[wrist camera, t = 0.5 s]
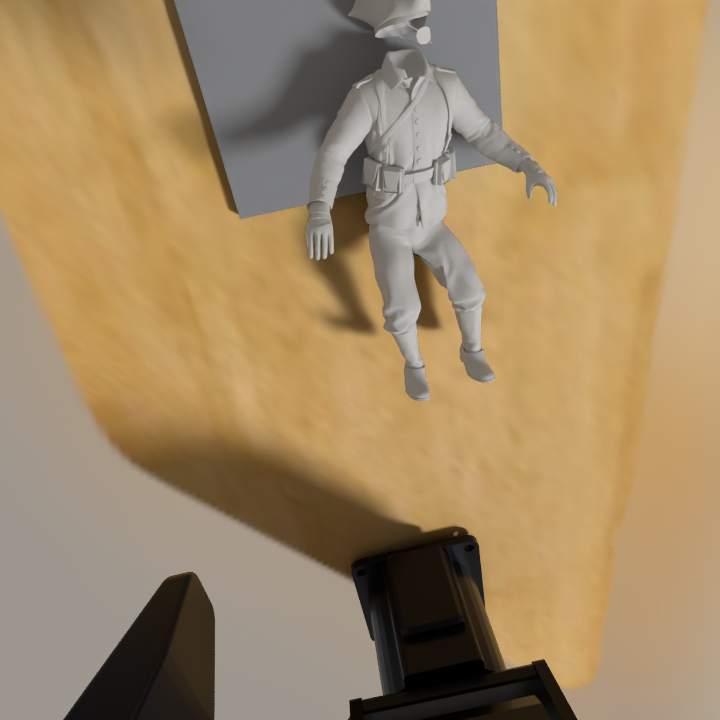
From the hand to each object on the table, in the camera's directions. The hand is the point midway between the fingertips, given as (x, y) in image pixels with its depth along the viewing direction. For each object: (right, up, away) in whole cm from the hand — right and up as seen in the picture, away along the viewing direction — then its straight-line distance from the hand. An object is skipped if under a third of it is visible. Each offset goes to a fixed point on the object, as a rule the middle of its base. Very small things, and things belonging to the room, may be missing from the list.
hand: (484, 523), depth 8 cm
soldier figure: (0, +2, +13) cm, 13 cm away
